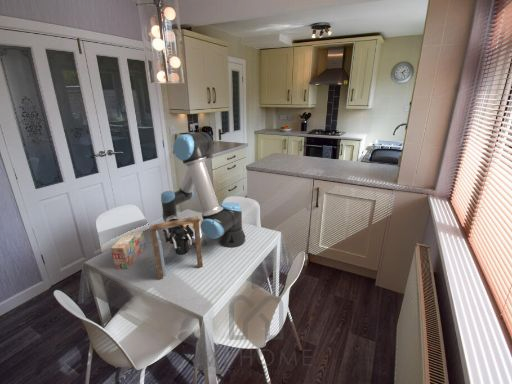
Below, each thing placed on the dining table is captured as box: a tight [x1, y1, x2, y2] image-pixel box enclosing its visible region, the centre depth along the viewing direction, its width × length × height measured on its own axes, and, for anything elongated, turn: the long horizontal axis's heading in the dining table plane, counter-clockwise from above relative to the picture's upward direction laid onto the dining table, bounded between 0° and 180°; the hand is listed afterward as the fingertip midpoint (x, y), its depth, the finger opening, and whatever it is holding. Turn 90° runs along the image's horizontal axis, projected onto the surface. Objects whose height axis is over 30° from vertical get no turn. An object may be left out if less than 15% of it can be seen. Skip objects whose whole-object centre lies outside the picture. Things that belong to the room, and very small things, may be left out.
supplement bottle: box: [174, 229, 190, 256], centre depth 135 cm, size 7×7×12 cm
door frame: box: [149, 215, 204, 280], centre depth 126 cm, size 21×2×27 cm, turn 117°
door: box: [156, 230, 167, 277], centre depth 130 cm, size 14×2×18 cm, turn 27°
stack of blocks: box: [110, 231, 147, 270], centre depth 141 cm, size 21×6×12 cm, turn 178°
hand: (183, 243), depth 130 cm, fingers closed on supplement bottle, 7 cm apart
